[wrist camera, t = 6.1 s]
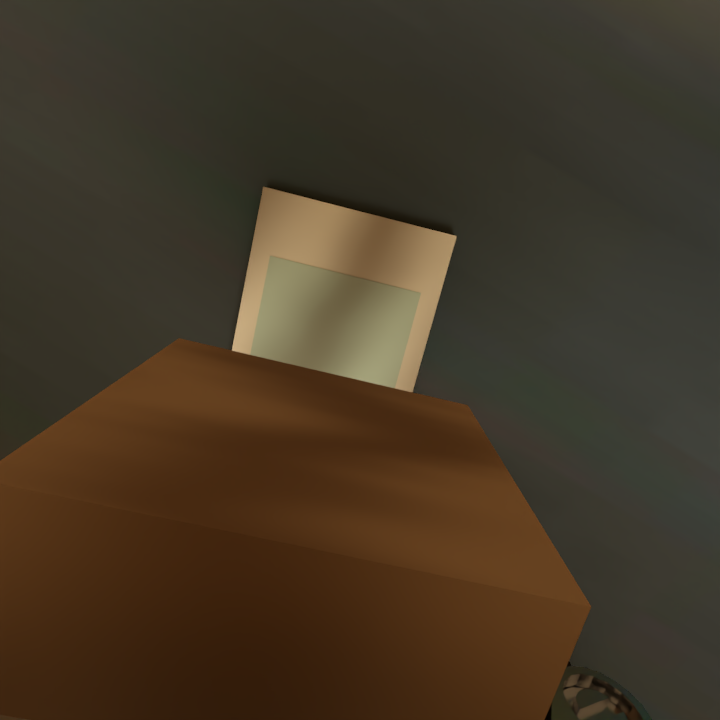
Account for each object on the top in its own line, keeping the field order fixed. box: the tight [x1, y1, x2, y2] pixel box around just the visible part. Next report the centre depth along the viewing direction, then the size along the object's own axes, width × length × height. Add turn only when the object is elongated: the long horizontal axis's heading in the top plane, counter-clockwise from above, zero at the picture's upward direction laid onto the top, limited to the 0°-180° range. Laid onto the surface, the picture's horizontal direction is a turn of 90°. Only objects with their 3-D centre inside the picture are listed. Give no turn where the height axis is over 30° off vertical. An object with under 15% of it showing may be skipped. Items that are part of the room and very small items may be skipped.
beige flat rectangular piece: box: [232, 187, 457, 392], centre depth 26 cm, size 9×13×1 cm
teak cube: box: [0, 338, 591, 720], centre depth 9 cm, size 6×6×6 cm
